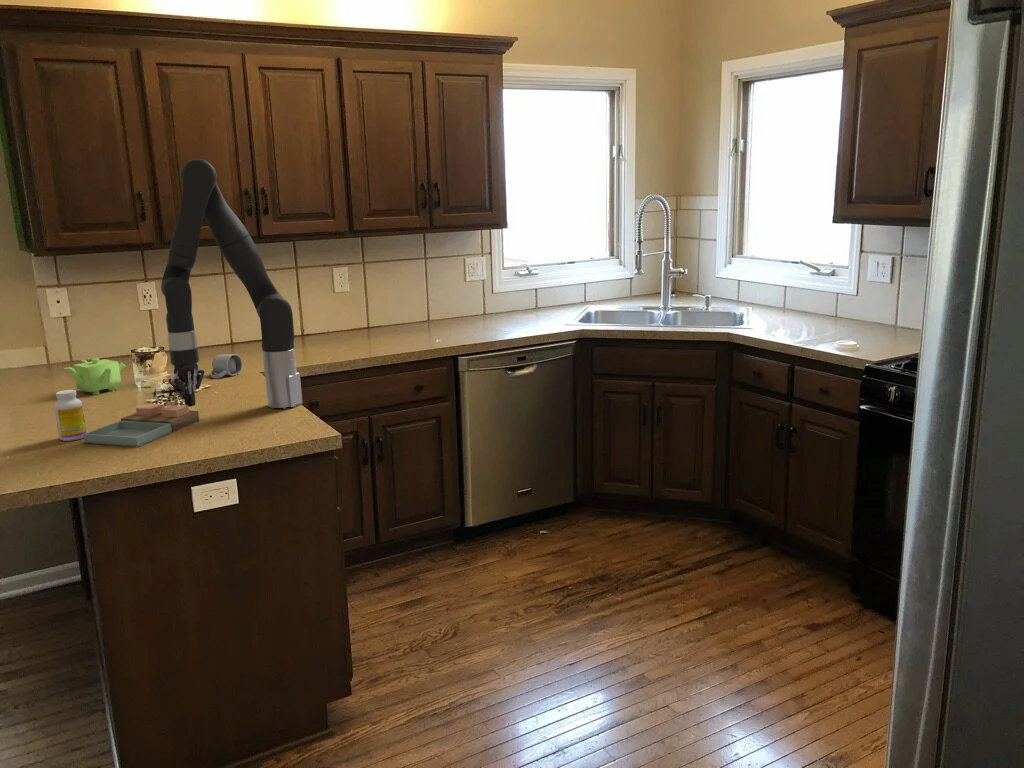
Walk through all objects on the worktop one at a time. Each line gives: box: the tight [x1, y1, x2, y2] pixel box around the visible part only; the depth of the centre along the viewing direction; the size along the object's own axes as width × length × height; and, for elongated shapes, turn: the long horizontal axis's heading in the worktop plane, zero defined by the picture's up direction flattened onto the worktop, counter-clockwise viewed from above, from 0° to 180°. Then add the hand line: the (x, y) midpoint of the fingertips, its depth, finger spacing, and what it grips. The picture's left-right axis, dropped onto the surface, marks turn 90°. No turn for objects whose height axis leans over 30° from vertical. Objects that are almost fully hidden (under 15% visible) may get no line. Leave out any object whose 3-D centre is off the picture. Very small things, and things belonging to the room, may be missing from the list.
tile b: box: [135, 403, 165, 416], centre depth 230 cm, size 5×5×2 cm
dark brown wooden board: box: [120, 410, 200, 433], centre depth 229 cm, size 17×11×3 cm, turn 73°
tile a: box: [161, 404, 190, 417], centre depth 228 cm, size 5×5×2 cm
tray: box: [82, 420, 173, 448], centre depth 217 cm, size 17×13×2 cm
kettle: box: [63, 357, 127, 395], centre depth 272 cm, size 15×14×11 cm
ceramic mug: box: [210, 353, 243, 379], centre depth 290 cm, size 11×8×8 cm
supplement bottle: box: [53, 389, 88, 442], centre depth 218 cm, size 7×7×13 cm
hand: (190, 405), depth 234 cm, fingers closed
